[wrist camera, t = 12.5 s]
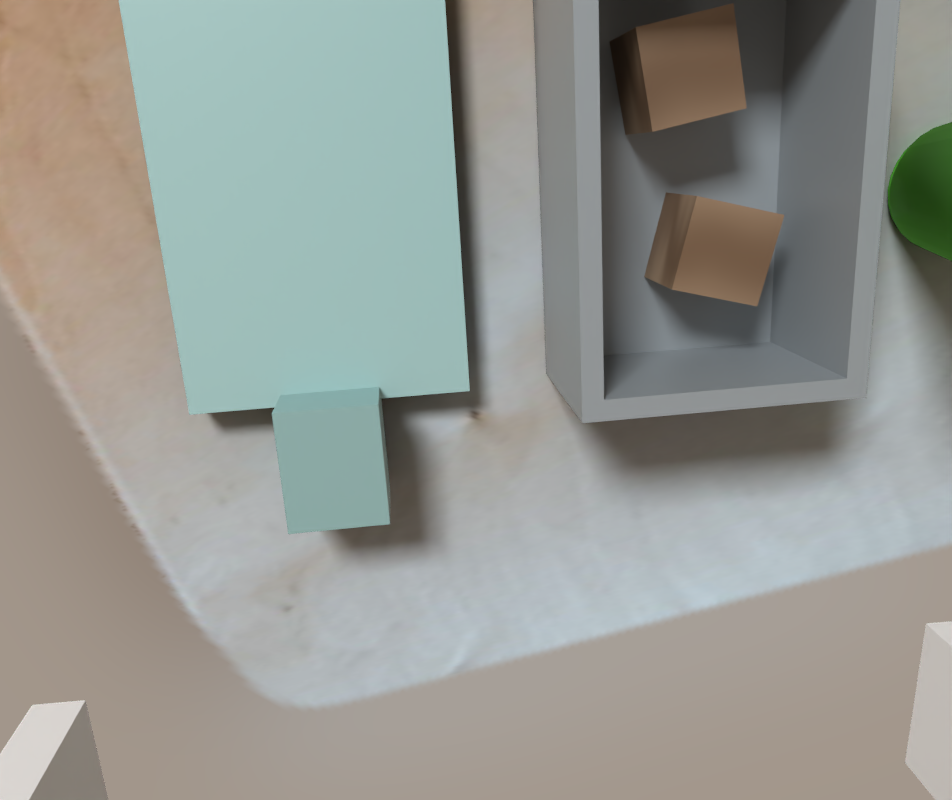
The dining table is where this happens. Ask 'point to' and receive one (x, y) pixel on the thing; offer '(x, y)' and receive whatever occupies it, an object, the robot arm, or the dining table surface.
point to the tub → (724, 179)
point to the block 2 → (713, 248)
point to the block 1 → (679, 70)
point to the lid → (306, 223)
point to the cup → (925, 192)
